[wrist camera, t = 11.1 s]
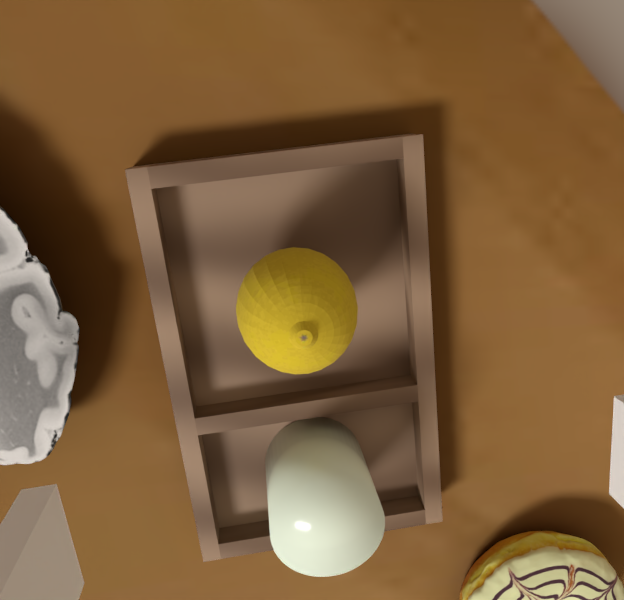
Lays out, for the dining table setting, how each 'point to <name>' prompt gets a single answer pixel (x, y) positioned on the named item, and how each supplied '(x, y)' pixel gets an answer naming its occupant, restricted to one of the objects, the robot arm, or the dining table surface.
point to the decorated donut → (542, 570)
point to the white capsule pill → (321, 499)
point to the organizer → (252, 371)
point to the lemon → (297, 310)
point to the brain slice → (32, 352)
